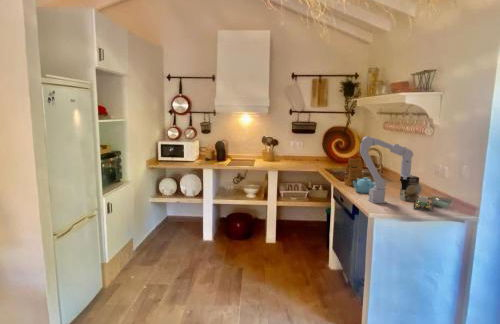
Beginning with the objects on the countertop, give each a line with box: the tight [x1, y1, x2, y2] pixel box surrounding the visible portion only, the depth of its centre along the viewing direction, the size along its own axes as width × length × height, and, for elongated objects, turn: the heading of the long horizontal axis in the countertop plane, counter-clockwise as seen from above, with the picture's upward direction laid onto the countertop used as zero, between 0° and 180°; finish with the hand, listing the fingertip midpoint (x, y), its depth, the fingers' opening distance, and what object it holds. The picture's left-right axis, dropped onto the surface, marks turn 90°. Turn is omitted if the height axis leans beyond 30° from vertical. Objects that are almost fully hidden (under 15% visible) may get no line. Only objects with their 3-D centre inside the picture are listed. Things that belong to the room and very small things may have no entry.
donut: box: [418, 183, 423, 196], centre depth 232 cm, size 10×4×10 cm, turn 88°
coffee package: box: [344, 157, 363, 187], centre depth 264 cm, size 10×12×22 cm
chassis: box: [412, 201, 433, 212], centre depth 203 cm, size 13×10×4 cm
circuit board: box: [415, 195, 430, 206], centre depth 203 cm, size 10×7×4 cm
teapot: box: [353, 177, 375, 195], centre depth 243 cm, size 15×15×11 cm
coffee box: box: [399, 175, 420, 202], centre depth 221 cm, size 9×6×16 cm
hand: (404, 188), depth 211 cm, fingers open, 7 cm apart
